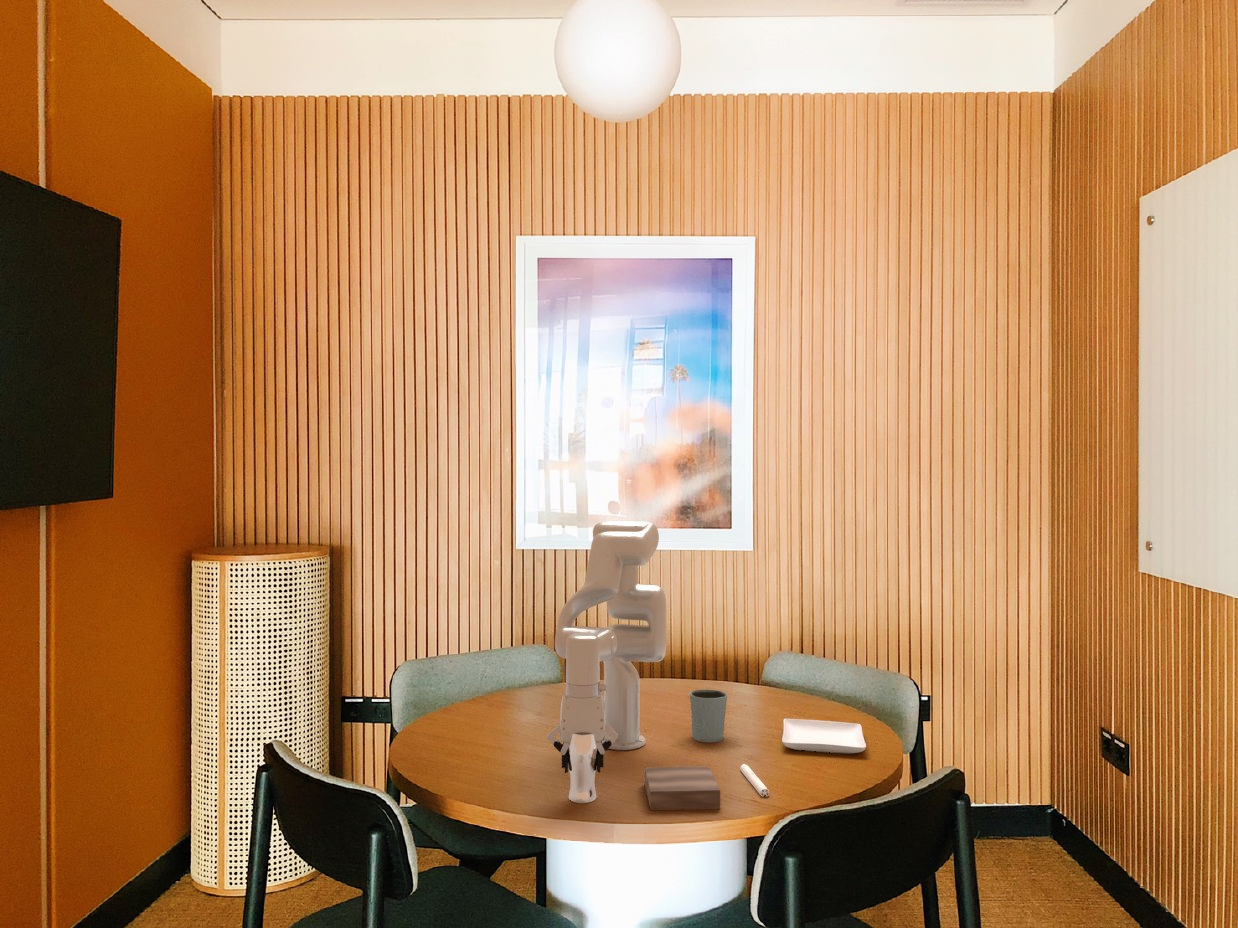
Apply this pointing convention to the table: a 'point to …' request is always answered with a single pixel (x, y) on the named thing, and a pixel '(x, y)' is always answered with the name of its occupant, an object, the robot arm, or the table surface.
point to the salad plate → (823, 736)
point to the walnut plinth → (681, 788)
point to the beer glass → (582, 767)
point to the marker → (754, 780)
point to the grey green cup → (708, 715)
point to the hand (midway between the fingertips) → (582, 770)
